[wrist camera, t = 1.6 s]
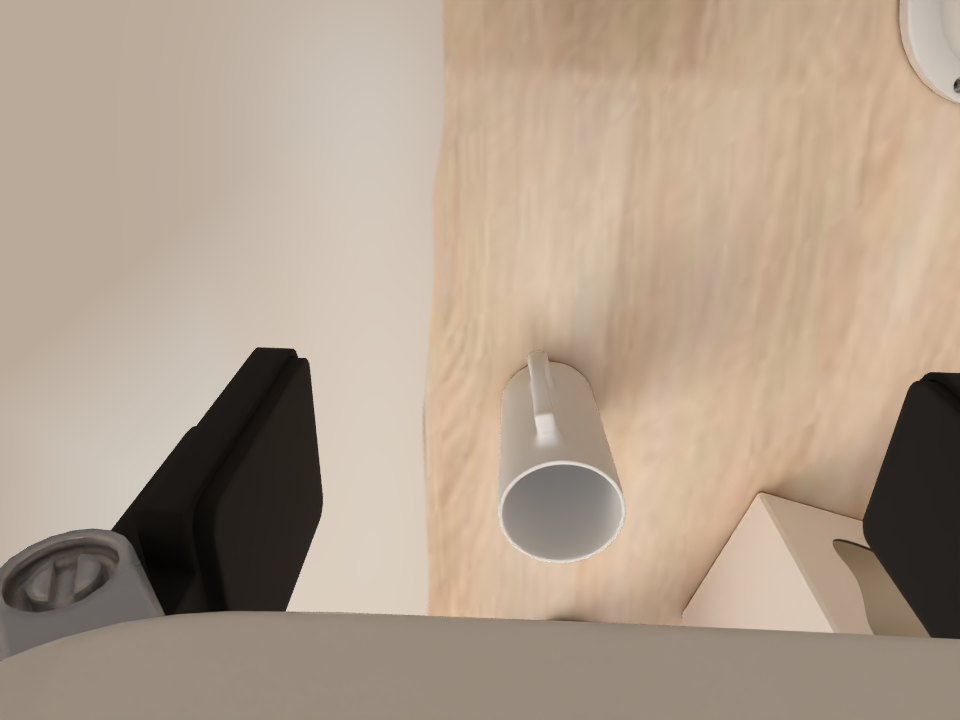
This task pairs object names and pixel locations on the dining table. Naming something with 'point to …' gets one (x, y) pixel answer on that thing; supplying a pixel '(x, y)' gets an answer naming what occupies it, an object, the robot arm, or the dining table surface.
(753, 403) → the dining table surface
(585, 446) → the mug
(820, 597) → the gable box
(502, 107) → the dining table surface
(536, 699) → the robot arm
